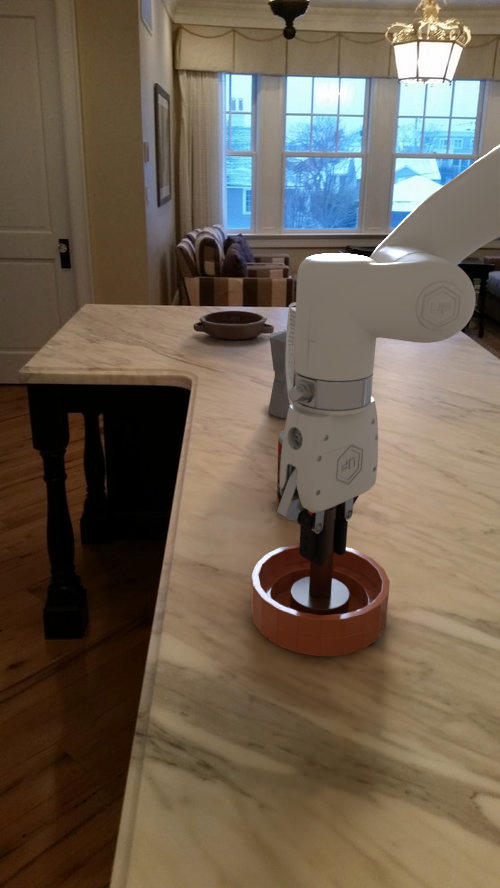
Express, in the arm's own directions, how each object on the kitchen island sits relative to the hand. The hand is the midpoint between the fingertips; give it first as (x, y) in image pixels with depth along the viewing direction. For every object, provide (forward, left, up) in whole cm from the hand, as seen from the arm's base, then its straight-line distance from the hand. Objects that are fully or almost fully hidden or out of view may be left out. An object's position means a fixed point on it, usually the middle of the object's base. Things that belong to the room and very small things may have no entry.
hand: (322, 553), depth 74 cm
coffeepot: (-43, -48, -8) cm, 65 cm away
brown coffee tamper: (0, 0, -7) cm, 7 cm away
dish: (-74, -103, -8) cm, 127 cm away
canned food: (-17, -19, -8) cm, 27 cm away
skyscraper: (-26, -28, -8) cm, 39 cm away
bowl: (0, 0, -8) cm, 8 cm away
